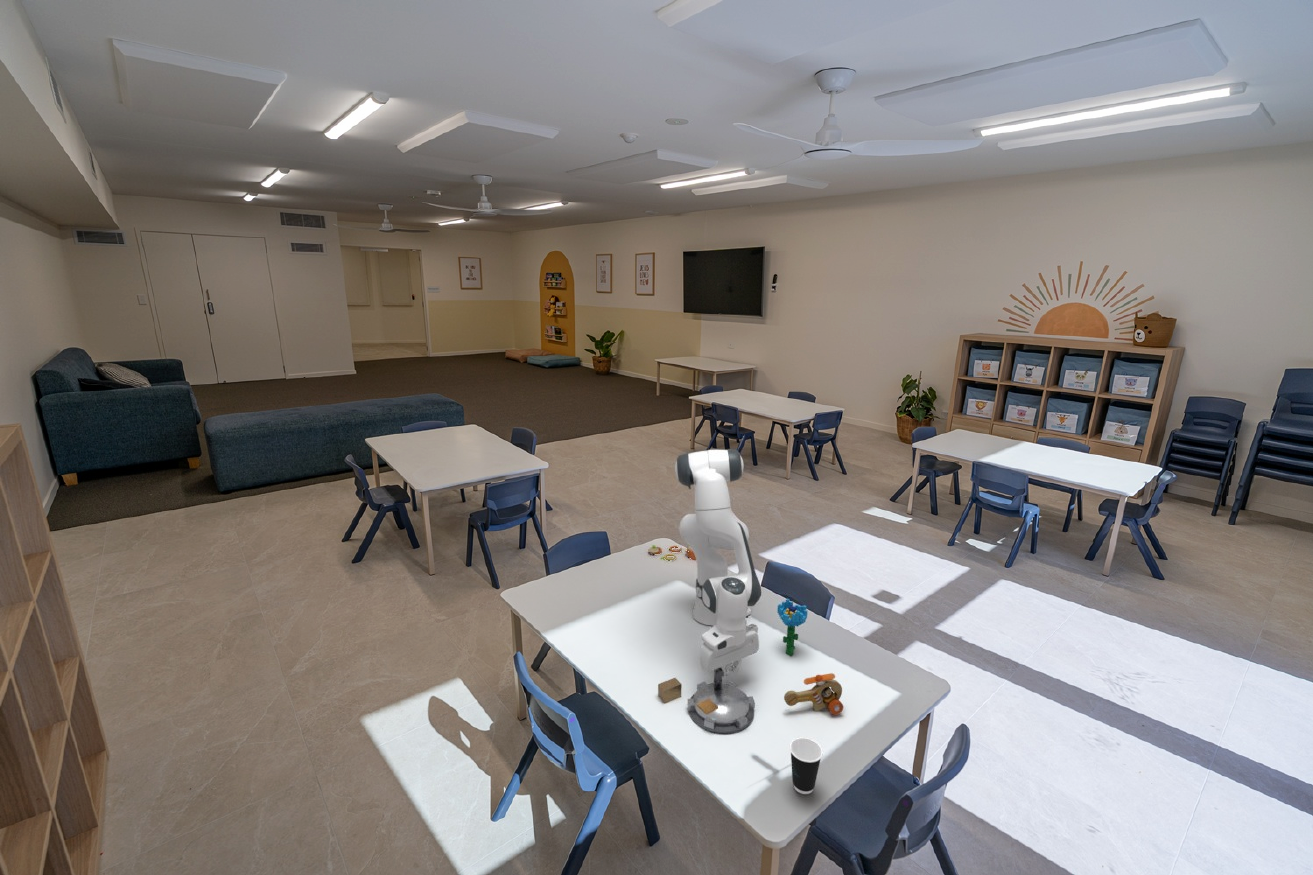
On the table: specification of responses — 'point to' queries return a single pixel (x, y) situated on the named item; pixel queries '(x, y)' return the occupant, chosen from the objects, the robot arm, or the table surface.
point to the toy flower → (791, 621)
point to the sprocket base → (721, 729)
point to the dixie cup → (805, 763)
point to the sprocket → (721, 703)
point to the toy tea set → (658, 550)
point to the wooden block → (669, 690)
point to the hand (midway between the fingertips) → (729, 672)
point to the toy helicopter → (819, 694)
